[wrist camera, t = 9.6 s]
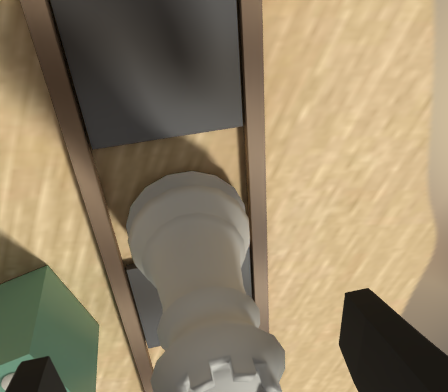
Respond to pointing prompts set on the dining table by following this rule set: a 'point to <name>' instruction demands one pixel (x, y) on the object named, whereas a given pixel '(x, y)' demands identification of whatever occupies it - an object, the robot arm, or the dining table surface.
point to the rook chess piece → (202, 287)
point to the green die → (47, 330)
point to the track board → (155, 112)
